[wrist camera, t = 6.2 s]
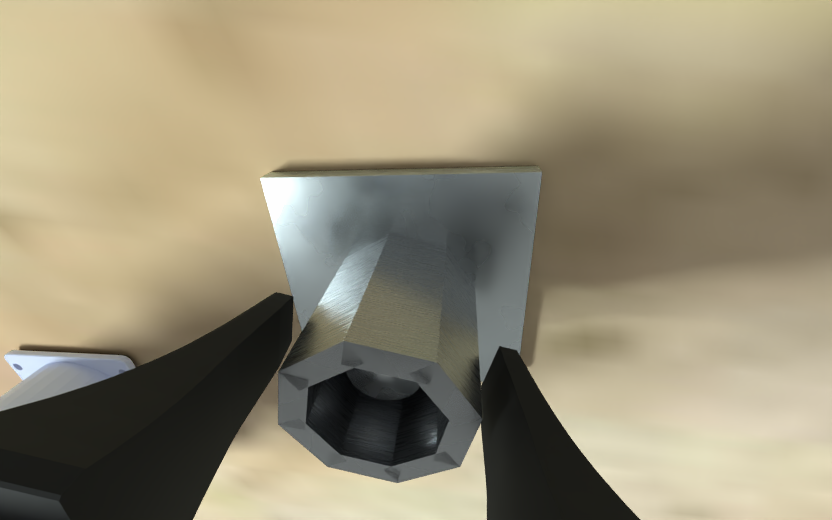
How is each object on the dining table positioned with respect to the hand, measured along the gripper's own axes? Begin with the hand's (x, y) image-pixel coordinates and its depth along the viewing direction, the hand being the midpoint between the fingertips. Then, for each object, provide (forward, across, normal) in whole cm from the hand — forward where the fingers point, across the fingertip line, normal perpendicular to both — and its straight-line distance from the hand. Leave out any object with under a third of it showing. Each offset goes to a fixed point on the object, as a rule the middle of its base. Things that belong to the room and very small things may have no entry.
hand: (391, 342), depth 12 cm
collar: (+3, 0, 0) cm, 3 cm away
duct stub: (+4, 0, 0) cm, 4 cm away
